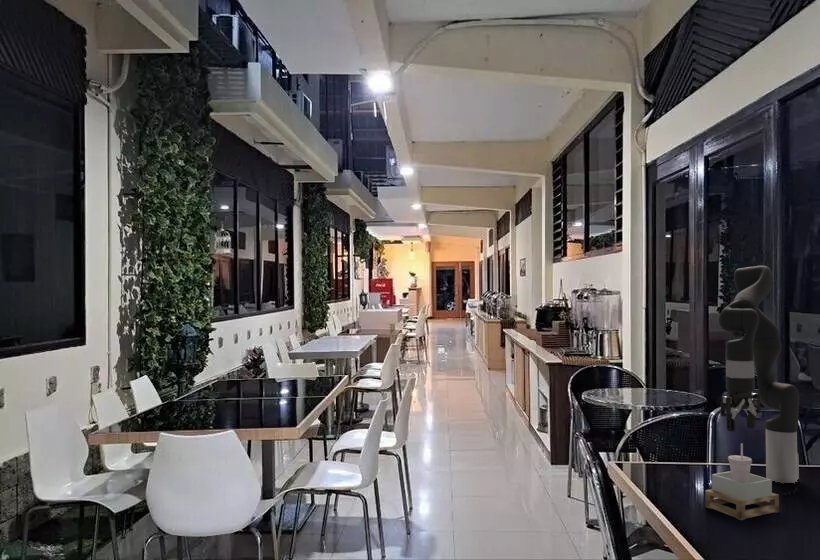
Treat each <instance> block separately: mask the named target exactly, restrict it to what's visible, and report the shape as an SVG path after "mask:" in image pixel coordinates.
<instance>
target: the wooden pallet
mask: <svg viewBox="0 0 820 560" xmlns="http://www.w3.org/2000/svg"><path fill="white" fill-rule="evenodd" d="M779 496H780V494H778V493H774V492H772V496H767V497H762V498H757V499H752V500H748V501H744V500H741V499H739V498H736V497H733V496H730V495H727V494H724V493H721V492H718V491H715V490H712V488H711V489H710V488H709V489H706V490H705V498H704V499H705V508H708V509H712V510H714V511H717V512H720V513H723V514H725V515H727V516H731V517H733V518H736V519H737V520H740V521H744V520H746V519H749V518H754V517H759V516H763V515H767V514H773V513H774V514H775V513H779V512H780V503H779V499H780V497H779ZM729 503H732V504H734V505H735V508H733V507H730V506H728V505H725V504H729ZM752 504H753V505H757V506H759V507H754V508H753V507H752V508H748V509H746V506H747V505H752Z"/></svg>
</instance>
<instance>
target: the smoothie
mask: <svg viewBox="0 0 820 560" xmlns="http://www.w3.org/2000/svg"><path fill="white" fill-rule="evenodd" d="M727 461H728V462H729V469H730V471H731V477H732V480H734V481H737V482H741V483H744V484H747V483H748V482H749V474H751V466H752V463H753V459H752V458H751V457H749V456H744V443H740V455H734V454H733V455H729V456H727Z"/></svg>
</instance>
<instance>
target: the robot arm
mask: <svg viewBox="0 0 820 560" xmlns="http://www.w3.org/2000/svg"><path fill="white" fill-rule="evenodd" d="M733 281H734V284H735V288H736V292H737V293H736V295H735V297H734V299H733V301H732V302H730V304H728V305H727V306H725V307H724V308H723V309H722V311H721V312H720V314H719V316H718V324H719V327H720V328H721V329H722V330H723V331H725V332H730V333H744V335H743V337H742V338H738V339H731V340H728V341H727V342H726V348H725V349H726V352H725V353H726V363H725V364H726V365H725V389H726V391H728V392H729V394H728V396H725V395H721V396H720V416H721V417H724V418H726V429H727V431H728V432H731V433H733V432H734V433H735V432H736V416H737V414H739V413H740V412H741V411H742V410H744V411H745V413H746V414H747V415H746V427H747V428H748V429H751V430H753V429H755V428H756V417H757V415H758V414H760V413H761V412H762V410H761V404H762V405H763V406H764V407H765V408H767V409H771V410H777V411H779V415H778V417H774V418H770V419H767V420H766V421H765V467H766V468H765V470H766V471H765V474H766V475H765V476H766V477H765V478H767V479H771V480H772V482H773V481H775V482H774V483H777V482H780V483H779V484H784V483H794V484H796V483H795V482H797V483H798V481H797V480H798V479H799V480H800V473H799V471H800V468H799V467H800V465H799V464H800V463H799V455H800V454H799V452H798V430H797V429H798V425H799V424H798V423H799V414H800V413H799V412H800V409H799V408H800V395H799V394H800V393H799V390H798V388H797V387H796V386H795V385H794V384H789V383H783V382H776V380H775V378H774V370H773V369H774V365H775V363H776V361H777V359H778V358H779V355H780V353H781V351H782V342H781V336H780V332H779V328H778V326H777V325H776V323H774V322H773V320H771V319H770V318H769V317H768V316H767V315H766V314H765V313H764V312H762V310H761V309H760V308H759V305H760V304H761V303H762V301H763V300H764V299H765V298H766V297H767V296H768V295H769V293H771V291H772V290H773V287H774V275H773V272H772V270H771V268H770V267H768V265H757V266H755V265H754V266H748V267H741V268H737V269H736V270H734V274H733ZM755 373H756V379H755ZM755 380H756V381H755ZM755 382H757V389H758V390H757V391H758V393H756V392H755V390H756V387H755V385H756V384H755Z"/></svg>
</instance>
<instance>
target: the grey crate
mask: <svg viewBox="0 0 820 560" xmlns="http://www.w3.org/2000/svg"><path fill="white" fill-rule="evenodd" d="M711 489H712V490H715V491H718V492H721V493H724V494H727V495H730V496H733V497H736V498H739V499H741V500H744V501H748V500H752V499H757V498H762V497H767V496H772V493H773V481H772V480H771V479H767V478H766V477H763V476H760V475H756V474H753V473H750V474H749V482H748V483H747V484H744V483H741V482H737V481H734V480H732V477H731V470H730V471H724V472H717V473H712V474H711Z"/></svg>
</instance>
